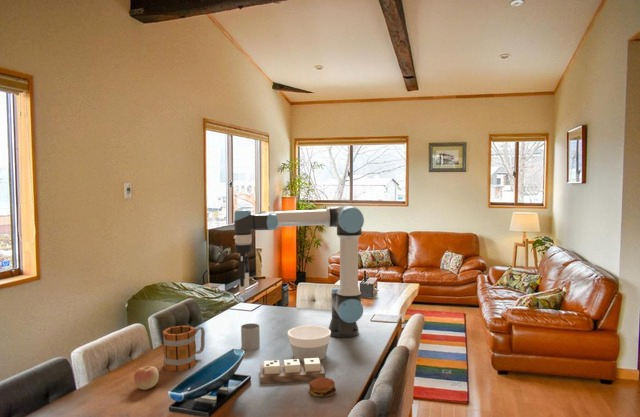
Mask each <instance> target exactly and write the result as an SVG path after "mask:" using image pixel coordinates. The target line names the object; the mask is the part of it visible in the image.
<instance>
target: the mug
mask: <svg viewBox="0 0 640 417" xmlns="http://www.w3.org/2000/svg"><path fill="white" fill-rule="evenodd" d="M198 331H200V333H201V334H200V348H199V350H196V349H197V344H196V335H197V333H198ZM205 333H206V331H205V328H204V327H203V326H197V327H195V328H194V326H192V325H177V326H170V327H169V326H168V327H167V328H165V329H164V330H162V336H163V346H162V349H163V367H164V369H165V370H166V371H169V372H182V371H188V370H190V369H192V368H194V367H195V366H196V365H197V360H196V357H197V356H196V355H198V354H201V353H203V351H204V350H205V349H204V348H205V344H206V343H205V335H206V334H205Z"/></svg>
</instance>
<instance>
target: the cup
mask: <svg viewBox="0 0 640 417" xmlns="http://www.w3.org/2000/svg"><path fill="white" fill-rule="evenodd" d="M240 334H241V337H240V340H241V350H243V351H256V350H258V349H260V348H261V346H260V345H261V344H260V343H261V342H260V341H261V339H260V324H257V323H245V324H242V325H241V326H240Z"/></svg>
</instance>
